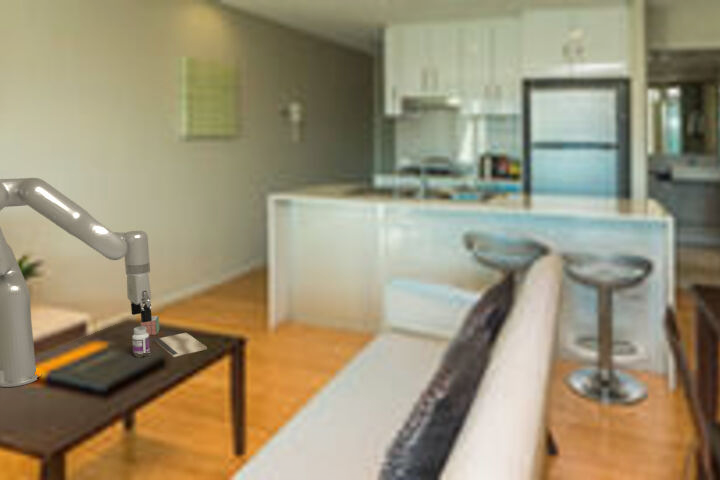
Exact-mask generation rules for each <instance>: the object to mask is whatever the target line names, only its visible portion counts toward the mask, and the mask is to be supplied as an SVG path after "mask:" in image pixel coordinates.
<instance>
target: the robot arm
mask: <svg viewBox="0 0 720 480" xmlns="http://www.w3.org/2000/svg"><path fill="white" fill-rule="evenodd" d="M23 206H28V207H29V208H31V209H32V210H34V211H36V213H38V214H40V215H41V216H43V217H44V218H45V219H47V220H49V221H50V222H52V223H53V224H55V225H56V226H57V227H59V228H60V229H62V230H63V231H65V232H66V233H67V234H69V235H71V236H73V237H75V238H76V239H78V240H80V241H81V242H83V243H84V244H85V245H87V247H90V249H91V248H92V249H93V250H94V251H96V252H97V253H99V254H100V255H102V256H103V257H105V258H106V259H108V260H110V261H118V260H120V259H123V258H124V266H125V274H126V291H127V292H126V293H127V295H126V296H127V299H128V301H130V307H131V308H130V310H131V315H132V316H135V315H139V314H140V321H142V322H143V323H144V322H148V321H151V320H152V316H153V315H152V304H151V303H152V302H151V301H152V300H151V299H152V297H151V296H152V295H151V286H150V276H149V274H150V273H151V267H150V253H149V251H150V249H149V238H148V234H147V232H146V231H143V230H132V231H127V232H114V231H112V230H111V229H110V228H108V227H106V226H105V225H103V223H101V222H100V221H99V220H97V219H96V218H94V217H93V216H92V215H91V214H90V213H89V212H88V211H87V210H85V209H84V207H82V206H80V205H79V204H78V203H77V202H75V201H73V200H72V199H71V198H69V197H67V195H65V194H63V193H62V192H60V190H58V189H56V188H55V187H53V185H51V184H49V183H48V182H46V181H45V180H43V179H41V178H38V177H26V178H25V177H24V178H22V177H21V178H0V212H1V211H2V210H3V209H5V208H8V207H23ZM31 309H32V308H31V293H30V287H29V286H28V283H27V281H26V279H25V276H24V275H23V272H22V270H21V268H20V266H19V263H18V261H17V258H16V257H15V254H14V252H13V249H12V247H11V246H10V245H9V244H8V241H6V239H5V236H4V234H3V231H2V228H1V227H0V387H3V388H12V387H13V388H14V387H19V386H24V385H28V384H31V383H33V382H35V381H37V380H38V379H37V377H38V376H37V375H34V374H35V372H36V368H38V367H37V366H36V359H35V358H36V356H35V345H34V333H33V322H32V311H31Z"/></svg>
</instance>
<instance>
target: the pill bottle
mask: <svg viewBox="0 0 720 480" xmlns="http://www.w3.org/2000/svg"><path fill="white" fill-rule="evenodd" d="M146 331H147V329H146V327H144V326H141V325H139V326H136V327H134V328H133V334H132V336H131V341H132V342H131V343H132V354H133V353H138V354H143V353H150V354H151V350H150V349H151V348H150V347H151V345H150V344H151V343H150V335H149V334H148V333H147V332H146Z"/></svg>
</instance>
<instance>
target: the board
mask: <svg viewBox="0 0 720 480" xmlns="http://www.w3.org/2000/svg"><path fill="white" fill-rule="evenodd" d="M154 342H155V343H156V344H157V345H158V346H160V348H162V349H163V350H164V351H165V352H167V353H168V354H169V355H171V356H172V358H176V357H179V356H183V355H189V354H192V353H197V352H200V351H205V350H207V349H208V347H207V346H206V345H205V344H203V343H202V342H201V341H199V340H197V339H196V338H195V337H193V336H192V335H191V334H189V333H187V332H183V333H177V334H173V335H168V336H164V337H158V338H154Z"/></svg>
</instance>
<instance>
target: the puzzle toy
mask: <svg viewBox="0 0 720 480" xmlns="http://www.w3.org/2000/svg"><path fill="white" fill-rule="evenodd" d="M151 316H152V320H151V321H148V322H144V323H143V322H142V321H141V320H140V323H139V324H140V326H144V327H146V329H147V331H146V332H147V333H148V334H149V336H157V334H158V333H159V331H160V316H159V315H151Z"/></svg>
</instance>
